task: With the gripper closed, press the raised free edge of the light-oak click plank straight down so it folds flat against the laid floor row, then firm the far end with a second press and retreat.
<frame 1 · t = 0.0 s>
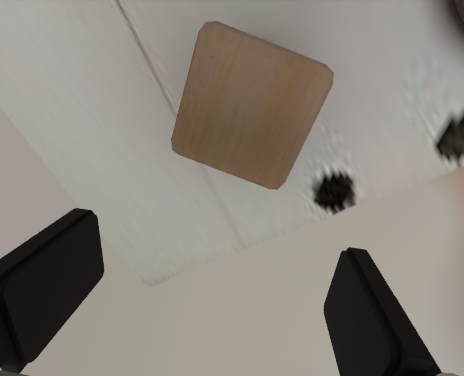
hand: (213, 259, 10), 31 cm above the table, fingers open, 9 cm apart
wooden block: (254, 98, 37), on the table
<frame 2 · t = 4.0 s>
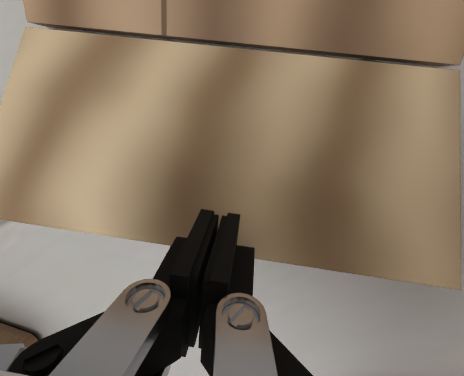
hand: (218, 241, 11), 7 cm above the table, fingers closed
click plank: (216, 146, 13), point 4 cm above the table, hinge at 32.9°, touching gripper
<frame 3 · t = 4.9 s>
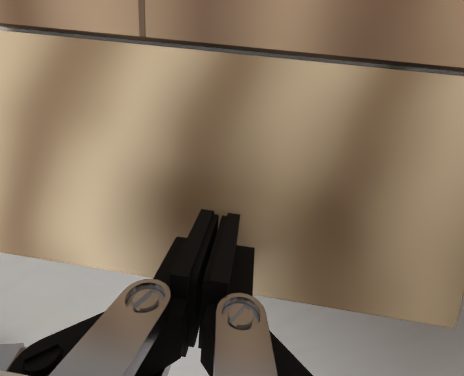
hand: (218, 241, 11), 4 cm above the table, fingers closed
click plank: (214, 174, 12), point 2 cm above the table, hinge at 15.2°, touching gripper
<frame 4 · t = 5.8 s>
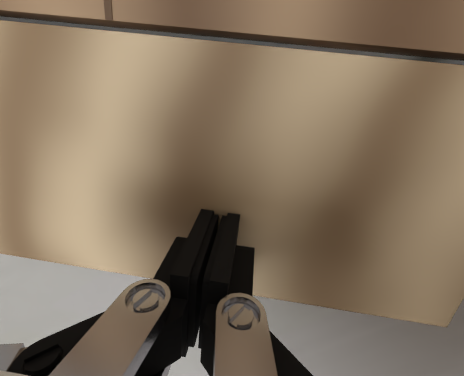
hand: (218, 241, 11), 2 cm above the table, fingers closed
click plank: (208, 180, 11), point 1 cm above the table, hinge at 1.3°, touching gripper
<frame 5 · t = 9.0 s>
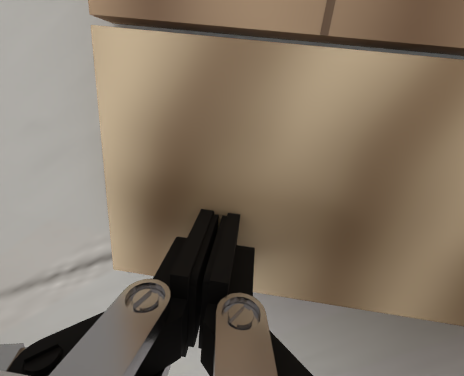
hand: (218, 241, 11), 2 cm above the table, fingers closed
click plank: (378, 199, 10), point 1 cm above the table, hinge at 1.2°, touching gripper
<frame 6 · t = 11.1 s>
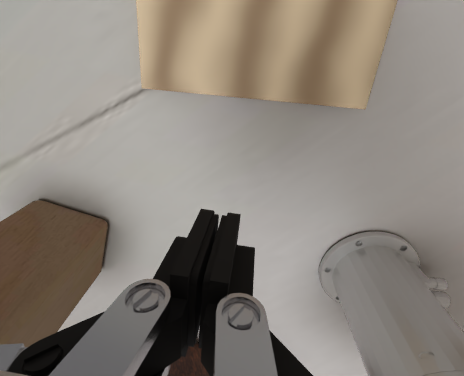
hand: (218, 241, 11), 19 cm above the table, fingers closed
wooden block: (73, 235, 36), on the table
click plank: (258, 40, 24), point 1 cm above the table, hinge at 0.7°
wooden bowl: (200, 373, 49), on the table
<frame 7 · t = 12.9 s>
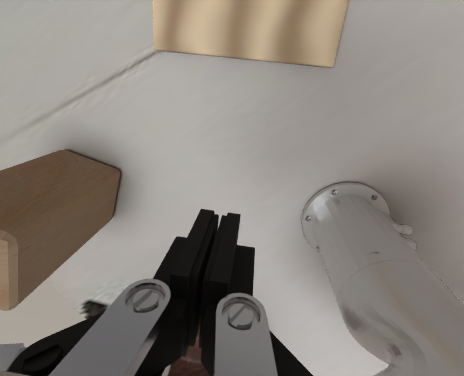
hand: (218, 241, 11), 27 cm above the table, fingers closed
wooden block: (90, 184, 42), on the table
click plank: (246, 10, 30), point 1 cm above the table, hinge at 0.7°
wooden bowl: (196, 328, 53), on the table
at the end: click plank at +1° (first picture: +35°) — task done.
